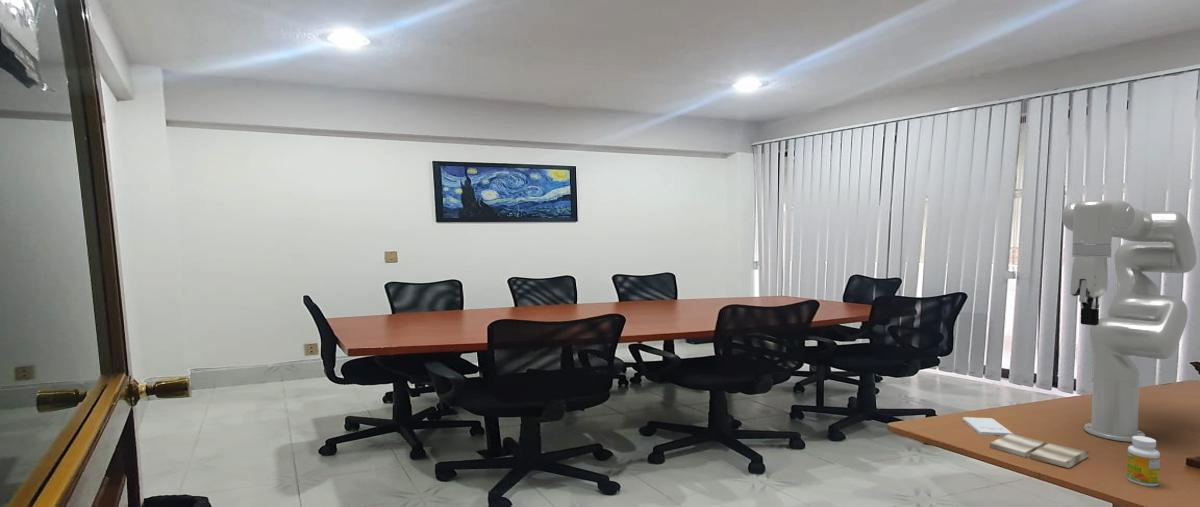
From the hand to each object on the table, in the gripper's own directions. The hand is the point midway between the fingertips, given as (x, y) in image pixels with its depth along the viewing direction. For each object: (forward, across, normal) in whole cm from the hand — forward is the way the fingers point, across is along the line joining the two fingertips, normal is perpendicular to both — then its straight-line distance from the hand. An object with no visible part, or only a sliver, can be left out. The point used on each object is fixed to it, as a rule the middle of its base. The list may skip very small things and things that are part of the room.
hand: (1089, 324), depth 152 cm
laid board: (+32, +11, -11) cm, 36 cm away
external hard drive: (+33, +2, -22) cm, 40 cm away
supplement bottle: (+32, +12, +14) cm, 37 cm away
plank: (+32, +11, -2) cm, 34 cm away
